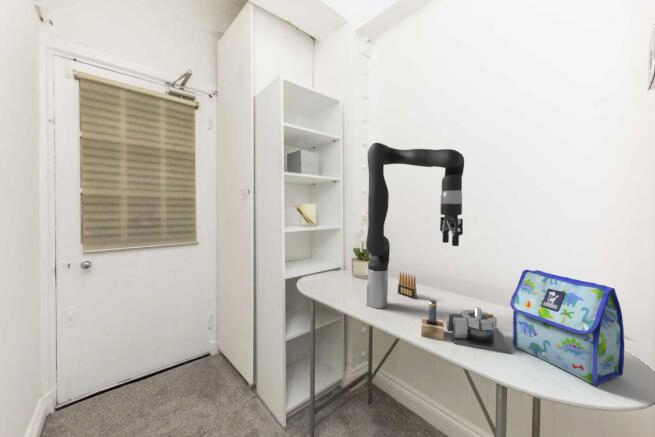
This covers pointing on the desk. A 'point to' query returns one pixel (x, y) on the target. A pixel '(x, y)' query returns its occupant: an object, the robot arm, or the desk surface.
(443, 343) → the desk surface
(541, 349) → the lunch bag
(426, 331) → the holder
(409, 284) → the ammunition clip
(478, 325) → the grey cube ring
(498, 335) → the chuck base
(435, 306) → the dark grey cylinder
